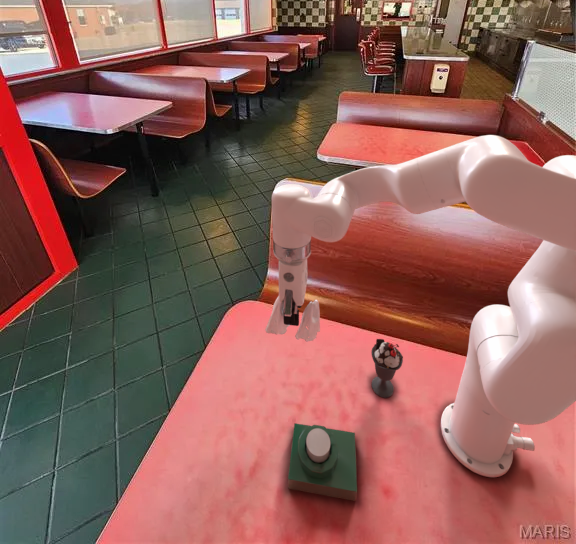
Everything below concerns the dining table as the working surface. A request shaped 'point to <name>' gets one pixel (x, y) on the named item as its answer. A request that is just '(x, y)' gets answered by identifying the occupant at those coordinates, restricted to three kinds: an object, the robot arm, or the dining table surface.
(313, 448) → the white button cap
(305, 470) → the button base
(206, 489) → the dining table surface
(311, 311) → the shaker set
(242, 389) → the dining table surface
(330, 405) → the dining table surface
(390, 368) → the sundae
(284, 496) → the dining table surface
